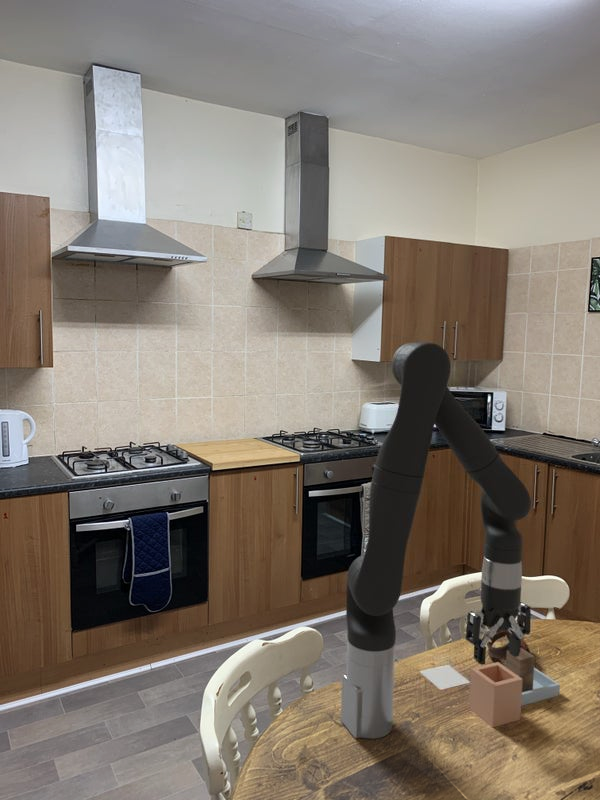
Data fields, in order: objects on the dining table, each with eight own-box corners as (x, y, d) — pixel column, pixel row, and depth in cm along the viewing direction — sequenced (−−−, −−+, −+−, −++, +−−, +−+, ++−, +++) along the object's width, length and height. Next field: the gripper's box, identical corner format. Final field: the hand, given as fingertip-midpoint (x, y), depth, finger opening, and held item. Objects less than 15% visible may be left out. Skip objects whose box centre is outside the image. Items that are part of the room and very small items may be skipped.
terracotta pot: (492, 730, 119) (494, 686, 118) (468, 710, 125) (470, 668, 124) (520, 722, 122) (522, 679, 121) (495, 703, 128) (498, 661, 127)
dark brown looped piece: (533, 679, 139) (515, 648, 138) (494, 683, 144) (478, 654, 144) (541, 644, 148) (525, 615, 148) (505, 650, 154) (489, 622, 153)
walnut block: (518, 696, 130) (520, 659, 129) (504, 686, 133) (506, 651, 133) (532, 692, 131) (534, 656, 131) (519, 682, 135) (521, 647, 134)
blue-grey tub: (511, 711, 125) (512, 697, 125) (478, 685, 134) (479, 672, 134) (559, 697, 130) (559, 684, 130) (524, 674, 139) (525, 661, 139)
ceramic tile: (440, 692, 131) (440, 689, 131) (419, 673, 139) (419, 671, 139) (470, 684, 135) (470, 682, 135) (448, 667, 142) (448, 664, 142)
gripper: (485, 592, 115) (481, 675, 116) (543, 582, 120) (538, 661, 122) (459, 578, 121) (456, 656, 123) (515, 569, 127) (511, 644, 129)
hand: (497, 658), depth 122 cm, fingers open, 8 cm apart
